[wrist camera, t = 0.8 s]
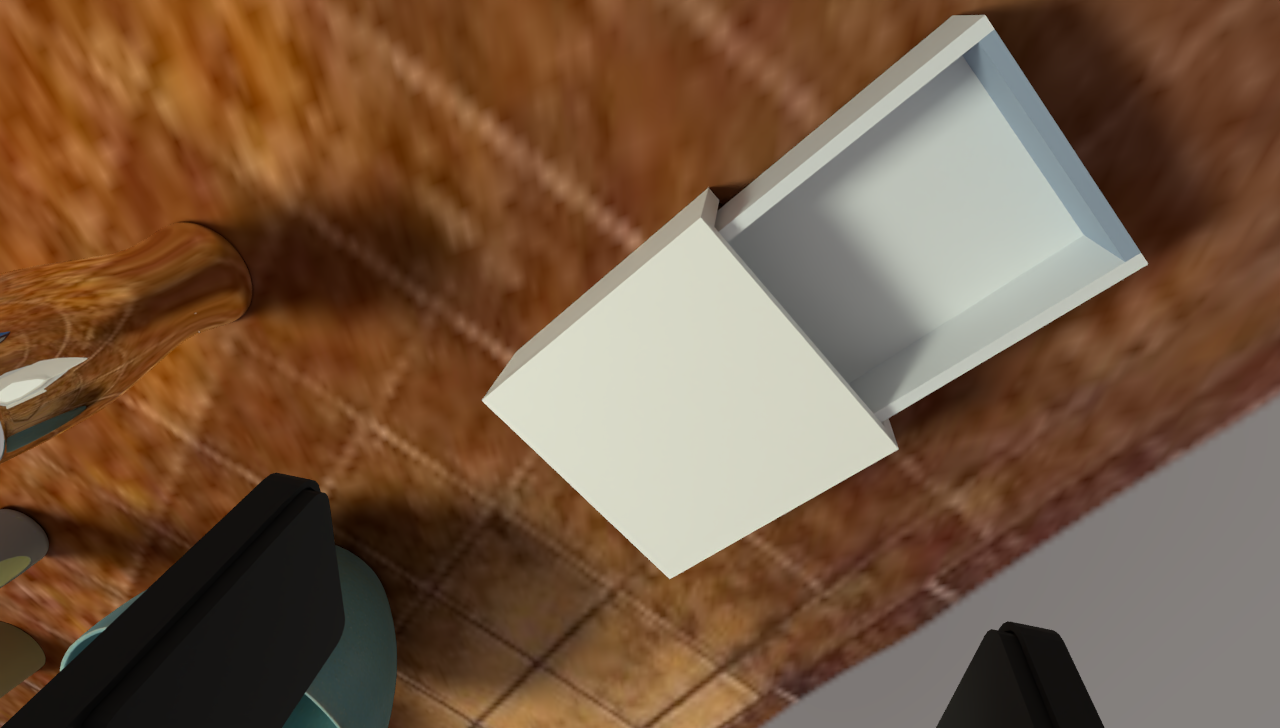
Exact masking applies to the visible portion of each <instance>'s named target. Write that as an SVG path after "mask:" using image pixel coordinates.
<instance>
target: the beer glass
mask: <svg viewBox="0 0 1280 728" xmlns="http://www.w3.org/2000/svg"><path fill="white" fill-rule="evenodd" d="M251 299H252V281H251V277H250V274H249V271H248V269H247V266H246V264H245V262H244V261H243V259H242V257H241V256H240V255H239V253H238V252H237V251H236V249H235V248H234V247H233V246H232V245H231V244H230V243H229V242H228V241H227V240H226V239H224V238H223V237H222V236H221V235H219V234H218V233H216V232H214V231H213V230H211V229H209V228H207V227H204V226H202V225H198V224H194V223H187V222H182V223H174V224H170V225H168V226H165V227H163V228H161V229H160V230H158V231H156V232H155V233H153V234H152V235H150V236H149V237H147V238H146V239H144V240H143V241H141V242H140V243H138V244H136V245H134V246H132V247H130V248H128V249H125V250H122V251H119V252H115V253H112V254H107V255H101V256H96V257H89V258H83V259H76V260H69V261H63V262H57V263H50V264H44V265H38V266H33V267H28V268H24V269H19V270H14V271H9V272H5V273H1V274H0V464H2V463H4V462H6V461H8V460H10V459H11V458H14V457H16V456H18V455H20V454H22V453H24V452H26V451H28V450H30V449H32V448H34V447H36V446H38V445H40V444H42V443H44V442H46V441H48V440H50V439H52V438H54V437H56V436H58V435H60V434H61V433H63V432H65V431H67V430H69V429H70V428H72V427H74V426H76V425H78V424H79V423H81V422H83V421H85V420H86V419H88V418H89V417H91V416H92V415H94V414H95V413H97V412H99V411H100V410H102V409H103V408H105V407H106V406H108V405H109V404H111V403H112V402H113V401H115V400H116V399H117V398H118V397H120V396H121V395H122V394H123V393H125V392H126V391H127V390H128V389H130V388H131V387H132V386H133V385H135V384H136V383H137V382H138V381H139V380H140V379H141V378H143V377H144V376H145V375H146V374H147V373H148V372H149V371H150V370H152V369H153V368H154V367H155V366H156V365H157V364H158V363H159V362H160V361H161V360H162V359H164V358H165V357H166V356H167V355H168V354H169V353H170V352H171V351H173V350H174V349H175V348H176V347H177V346H179V345H180V344H181V343H183V342H184V341H186V340H187V339H189V338H191V337H193V336H195V335H196V334H199V333H201V332H204V331H207V330H210V329H214V328H217V327H220V326H224V325H226V324H229V323H232V322H234V321H236V320H237V319H239V318H240V317H241V316H242V315H243V314H244V313H245V312H246V311H247V309H248V308H249V306H250V303H251Z"/></svg>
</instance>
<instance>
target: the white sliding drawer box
mask: <svg viewBox="0 0 1280 728" xmlns="http://www.w3.org/2000/svg"><path fill="white" fill-rule="evenodd" d="M714 227H715V228H716V229H717V231H718V232H719V233H720V234H721V235H722V236H723V238H724V239H725V240H726V241H727V242H728V244H729V245H730V246H731V247H732V248H733V249H734V251H735V252H736V253H737V254H738V255H739V256H740V258H741V259H742V260H743V261H744V262H745V263H746V265H747V266H748V267H749V268H750V269H751V270H752V272H753V273H754V274H755V275H756V276H757V278H758V279H759V280H760V281H761V282H762V283H763V285H764V286H765V287H766V288H767V289H768V290H769V292H770V293H771V294H772V295H773V296H774V297H775V299H776V300H777V301H778V302H779V303H780V304H781V306H782V307H783V308H784V309H785V310H786V312H787V313H788V314H789V315H790V316H791V317H792V319H793V320H794V321H795V322H796V323H797V324H798V326H799V327H800V328H801V329H802V330H803V331H804V333H805V334H806V335H807V336H808V337H809V339H810V340H811V341H812V342H813V343H814V344H815V346H816V347H817V348H818V349H819V350H820V351H821V353H822V354H823V355H824V356H825V357H826V358H827V360H828V361H829V362H830V363H831V364H832V365H833V367H834V368H835V369H836V370H837V371H838V373H839V374H840V375H841V376H842V377H843V378H844V380H845V381H846V382H847V383H848V384H849V385H850V387H851V388H852V389H853V390H854V391H855V392H856V394H857V395H858V396H859V397H860V398H861V399H862V401H863V402H864V403H865V404H866V405H867V407H868V408H869V409H870V410H871V411H872V412H873V414H874V415H875V416H876V417H877V418H878V419H879V421H880V422H883V421H885V420H886V419H888V418H890V417H891V416H893V415H895V414H896V413H898V412H900V411H901V410H903V409H905V408H907V407H908V406H910V405H912V404H913V403H915V402H917V401H918V400H920V399H922V398H923V397H925V396H927V395H928V394H930V393H932V392H933V391H935V390H937V389H939V388H940V387H942V386H944V385H945V384H947V383H949V382H950V381H952V380H954V379H955V378H957V377H959V376H960V375H962V374H964V373H966V372H967V371H969V370H971V369H972V368H974V367H976V366H977V365H979V364H981V363H982V362H984V361H986V360H987V359H989V358H991V357H993V356H994V355H996V354H998V353H999V352H1001V351H1003V350H1004V349H1006V348H1008V347H1009V346H1011V345H1013V344H1014V343H1016V342H1018V341H1020V340H1021V339H1023V338H1025V337H1026V336H1028V335H1030V334H1031V333H1033V332H1035V331H1036V330H1038V329H1040V328H1041V327H1043V326H1045V325H1047V324H1048V323H1050V322H1052V321H1053V320H1055V319H1057V318H1058V317H1060V316H1062V315H1063V314H1065V313H1067V312H1068V311H1070V310H1072V309H1074V308H1075V307H1077V306H1079V305H1080V304H1082V303H1084V302H1085V301H1087V300H1089V299H1090V298H1092V297H1094V296H1095V295H1097V294H1099V293H1100V292H1102V291H1104V290H1106V289H1107V288H1109V287H1111V286H1112V285H1114V284H1116V283H1117V282H1119V281H1121V280H1122V279H1124V278H1126V277H1127V276H1129V275H1131V274H1133V273H1134V272H1136V271H1138V270H1139V269H1141V268H1143V267H1144V266H1146V265H1148V263H1147V261H1146V260H1145V258H1144V257H1143V255H1142V254H1141V252H1140V250H1139V249H1138V247H1137V246H1136V244H1135V243H1134V241H1133V240H1132V238H1131V237H1130V235H1129V234H1128V232H1127V231H1126V229H1125V228H1124V226H1123V225H1122V223H1121V221H1120V220H1119V218H1118V217H1117V215H1116V214H1115V212H1114V211H1113V209H1112V208H1111V206H1110V205H1109V203H1108V202H1107V200H1106V199H1105V197H1104V196H1103V194H1102V192H1101V191H1100V189H1099V188H1098V186H1097V185H1096V183H1095V182H1094V180H1093V179H1092V177H1091V176H1090V174H1089V173H1088V171H1087V170H1086V168H1085V166H1084V165H1083V163H1082V162H1081V160H1080V159H1079V157H1078V156H1077V154H1076V153H1075V151H1074V150H1073V148H1072V147H1071V145H1070V144H1069V142H1068V141H1067V139H1066V137H1065V136H1064V134H1063V133H1062V131H1061V130H1060V128H1059V127H1058V125H1057V124H1056V122H1055V121H1054V119H1053V118H1052V116H1051V115H1050V113H1049V112H1048V110H1047V108H1046V107H1045V105H1044V104H1043V102H1042V101H1041V99H1040V98H1039V96H1038V95H1037V93H1036V92H1035V90H1034V89H1033V87H1032V86H1031V84H1030V83H1029V81H1028V79H1027V78H1026V76H1025V75H1024V73H1023V72H1022V70H1021V69H1020V67H1019V66H1018V64H1017V63H1016V61H1015V60H1014V58H1013V57H1012V55H1011V54H1010V52H1009V50H1008V49H1007V47H1006V46H1005V44H1004V43H1003V41H1002V40H1001V38H1000V37H999V35H998V34H997V32H996V31H995V29H994V28H993V26H992V25H991V23H990V21H989V20H988V18H987V17H986V15H954V16H952V17H950V18H949V19H948V20H947V21H945V22H944V23H943V24H942V25H941V26H939V27H938V28H937V29H936V30H935V31H933V32H932V33H931V34H930V35H929V36H927V37H926V38H925V39H924V40H923V41H921V42H920V43H919V44H918V45H917V46H915V47H914V48H913V49H912V50H911V51H909V52H908V53H907V54H906V55H905V56H903V57H902V58H901V59H900V60H899V61H897V62H896V63H895V64H894V65H893V66H891V67H890V68H889V69H888V70H886V71H885V72H884V73H883V74H882V75H880V76H879V77H878V78H877V79H876V80H874V81H873V82H872V83H871V84H870V85H868V86H867V87H866V88H865V89H864V90H862V91H861V92H860V93H859V94H858V95H856V96H855V97H854V98H853V99H852V100H850V101H849V102H848V103H847V104H846V105H844V106H843V107H842V108H841V109H840V110H838V111H837V112H836V113H835V114H833V115H832V116H831V117H830V118H829V119H827V120H826V121H825V122H824V123H823V124H821V125H820V126H819V127H818V128H817V129H815V130H814V131H813V132H812V133H811V134H809V135H808V136H807V137H806V138H805V139H803V140H802V141H801V142H800V143H799V144H797V145H796V146H795V147H794V148H793V149H791V150H790V151H789V152H788V153H787V154H785V155H784V156H783V157H782V158H780V159H779V160H778V161H777V162H776V163H774V164H773V165H772V166H771V167H770V168H768V169H767V170H766V171H765V172H764V173H762V174H761V175H760V176H759V177H758V178H756V179H755V180H754V181H753V182H752V183H750V184H749V185H748V186H747V187H746V188H744V189H743V190H742V191H741V192H740V193H738V194H737V195H736V196H735V197H734V198H732V199H731V200H730V201H729V202H727V203H726V204H725V205H724V206H723V207H721V208H720V209H719V210H718V211H717V215H716V220H715V226H714Z"/></svg>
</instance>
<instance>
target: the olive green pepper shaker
mask: <svg viewBox="0 0 1280 728" xmlns="http://www.w3.org/2000/svg"><path fill="white" fill-rule="evenodd" d="M45 659H46V658H45V655H44V652H43V650H42V649H41V647H40V646H39V644H38V643H37V642H36V641H35V640H34V639H33V638H32V637H31V636H29V635H28V634H26V633H25V632H23V631H22V630H21V629H19V628H17V627H15V626H12V625H10V624H8V623H4V622H0V698H1V697H2V696H4V695H5V694H6V693H8V692H9V691H10V690H12V689H13V688H14V687H16V686H17V685H19V684H20V683H21V682H23V681H24V680H25V679H27V678H28V677H29V676H31V675H32V674H33V673H35V672H36V671H38V670H39V669H40V668H41V667H42V666H43V665H44V664H45Z"/></svg>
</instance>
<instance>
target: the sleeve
mask: <svg viewBox="0 0 1280 728" xmlns="http://www.w3.org/2000/svg"><path fill="white" fill-rule="evenodd" d="M718 205H719V199H718V198H717V197H716V196H715V195H714V193H713V192H712V191H711V190H710V189H709V188H708V189H706V190H705V191H704V192H703V193H702V194H701V195H699V196H698V197H697V198H696V199H695V200H693V201H692V202H691V203H690V204H689V205H688V206H686V207H685V208H684V209H683V210H682V211H681V212H679V213H678V214H677V215H676V216H675V217H674V218H672V219H671V220H670V221H669V222H668V223H667V224H665V225H664V226H663V227H662V228H661V229H660V230H658V231H657V232H656V233H655V234H654V235H652V236H651V237H650V238H649V239H648V240H647V241H645V242H644V243H643V244H642V245H641V246H640V247H638V248H637V249H636V250H635V251H634V252H633V253H631V254H630V255H629V256H628V257H627V258H626V259H624V260H623V261H622V262H621V263H620V264H619V265H617V266H616V267H615V268H614V269H613V270H612V271H610V272H609V273H608V274H607V275H606V276H604V277H603V278H602V279H601V280H600V281H599V282H597V283H596V284H595V285H594V286H593V287H592V288H590V289H589V290H588V291H587V292H586V293H585V294H583V295H582V296H581V297H580V298H579V299H578V300H576V301H575V302H574V303H573V304H572V305H571V306H569V307H568V308H567V309H566V310H565V311H564V312H562V313H561V314H560V315H559V316H558V317H556V318H555V319H554V320H553V321H552V322H551V323H549V324H548V325H547V326H546V327H545V328H544V329H542V330H541V331H540V332H539V333H538V334H537V335H535V336H534V337H533V338H532V339H531V340H530V341H528V342H527V343H526V344H525V345H524V346H523V347H521V348H520V349H519V350H518V351H517V352H516V353H515V354H514V356H513V357H512V359H511V360H510V361H509V363H508V364H507V366H506V367H505V368H504V370H503V371H502V373H501V374H500V375H499V377H498V378H497V380H496V381H495V382H494V384H493V385H492V387H491V388H490V389H489V391H488V392H487V394H486V395H485V396H484V398H483V399H482V401H483V402H484V403H485V404H486V405H487V406H488V407H489V408H490V409H491V410H492V411H493V412H494V413H495V414H496V415H497V416H498V417H500V418H501V419H502V420H503V421H504V422H505V423H506V424H507V425H508V426H509V427H510V428H511V429H512V430H513V431H514V432H515V433H516V434H517V435H518V436H520V437H521V438H522V439H523V440H524V441H525V442H526V443H527V444H528V445H529V446H530V447H531V448H532V449H533V450H534V451H535V452H536V453H537V454H538V455H540V456H541V457H542V458H543V459H544V460H545V461H546V462H547V463H548V464H549V465H550V466H551V467H552V468H553V469H554V470H555V471H556V472H557V473H559V474H560V475H561V476H562V477H563V478H564V479H565V480H566V481H567V482H568V483H569V484H570V485H571V486H572V487H573V488H574V489H575V490H576V491H577V492H579V493H580V494H581V495H582V496H583V497H584V498H585V499H586V500H587V501H588V502H589V503H590V504H591V505H592V506H593V507H594V508H595V509H596V510H597V511H599V512H600V513H601V514H602V515H603V516H604V517H605V518H606V519H607V520H608V521H609V522H610V523H611V524H612V525H613V526H614V527H615V528H616V529H617V530H619V531H620V532H621V533H622V534H623V535H624V536H625V537H626V538H627V539H628V540H629V541H630V542H631V543H632V544H633V545H634V546H635V547H636V548H637V549H639V550H640V551H641V552H642V553H643V554H644V555H645V556H646V557H647V558H648V559H649V560H650V561H651V562H652V563H653V564H654V565H655V566H656V567H657V568H659V569H660V570H661V571H662V572H663V573H664V574H665V575H666V576H667V577H668V578H669V579H671V578H673V577H674V576H676V575H678V574H680V573H681V572H683V571H685V570H687V569H688V568H690V567H692V566H694V565H696V564H697V563H699V562H701V561H703V560H704V559H706V558H708V557H710V556H711V555H713V554H715V553H717V552H718V551H720V550H722V549H724V548H725V547H727V546H729V545H731V544H733V543H734V542H736V541H738V540H740V539H741V538H743V537H745V536H747V535H748V534H750V533H752V532H754V531H755V530H757V529H759V528H761V527H762V526H764V525H766V524H768V523H769V522H771V521H773V520H775V519H777V518H778V517H780V516H782V515H784V514H785V513H787V512H789V511H791V510H792V509H794V508H796V507H798V506H799V505H801V504H803V503H805V502H806V501H808V500H810V499H812V498H814V497H815V496H817V495H819V494H821V493H822V492H824V491H826V490H828V489H829V488H831V487H833V486H835V485H836V484H838V483H840V482H842V481H843V480H845V479H847V478H849V477H850V476H852V475H854V474H856V473H858V472H859V471H861V470H863V469H865V468H866V467H868V466H870V465H872V464H873V463H875V462H877V461H879V460H880V459H882V458H884V457H886V456H887V455H889V454H891V453H893V452H895V451H896V450H898V449H899V448H898V445H897V442H896V439H895V436H894V433H893V430H892V427H891V424H890V421H889V418H888V419H886V420H885V421H883V422H880V421H879V419H878V418H877V417H876V416H875V415H874V414H873V412H872V411H871V410H870V409H869V408H868V407H867V405H866V404H865V403H864V402H863V401H862V399H861V398H860V397H859V396H858V395H857V394H856V392H855V391H854V390H853V389H852V388H851V387H850V385H849V384H848V383H847V382H846V381H845V380H844V378H843V377H842V376H841V375H840V374H839V373H838V371H837V370H836V369H835V368H834V367H833V365H832V364H831V363H830V362H829V361H828V360H827V358H826V357H825V356H824V355H823V354H822V353H821V351H820V350H819V349H818V348H817V347H816V346H815V344H814V343H813V342H812V341H811V340H810V339H809V337H808V336H807V335H806V334H805V333H804V331H803V330H802V329H801V328H800V327H799V326H798V324H797V323H796V322H795V321H794V320H793V319H792V317H791V316H790V315H789V314H788V313H787V312H786V310H785V309H784V308H783V307H782V306H781V304H780V303H779V302H778V301H777V300H776V299H775V297H774V296H773V295H772V294H771V293H770V292H769V290H768V289H767V288H766V287H765V286H764V285H763V283H762V282H761V281H760V280H759V279H758V278H757V276H756V275H755V274H754V273H753V272H752V270H751V269H750V268H749V267H748V266H747V265H746V263H745V262H744V261H743V260H742V259H741V258H740V256H739V255H738V254H737V253H736V252H735V251H734V249H733V248H732V247H731V246H730V245H729V244H728V242H727V241H726V240H725V239H724V238H723V236H722V235H721V234H720V233H719V232H718V231H717V229H716V228H715V227H714V226H715V220H716V215H717V210H718Z"/></svg>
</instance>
